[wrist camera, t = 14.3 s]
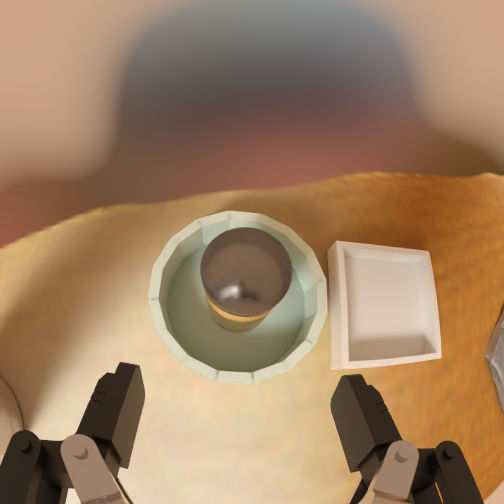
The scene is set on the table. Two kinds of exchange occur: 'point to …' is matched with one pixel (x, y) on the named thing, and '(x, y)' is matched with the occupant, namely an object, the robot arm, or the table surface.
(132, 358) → the table surface
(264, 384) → the table surface
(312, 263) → the bowl
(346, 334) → the parts tray
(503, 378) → the fossil rock
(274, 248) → the glass jar with lid
